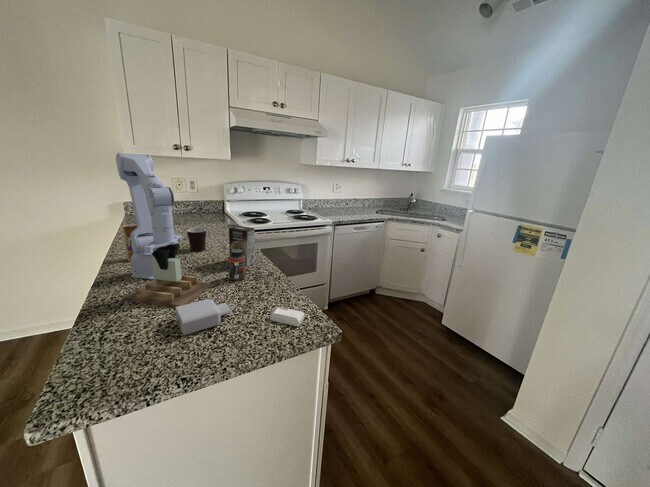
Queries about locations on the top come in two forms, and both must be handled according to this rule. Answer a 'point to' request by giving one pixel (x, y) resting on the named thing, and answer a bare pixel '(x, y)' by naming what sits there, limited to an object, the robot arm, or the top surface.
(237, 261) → the supplement bottle
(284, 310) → the soap bar
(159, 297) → the dish rack
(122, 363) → the top surface
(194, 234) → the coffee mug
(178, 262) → the pale green block
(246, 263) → the coffee box
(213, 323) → the grey bottle
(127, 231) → the candy box
